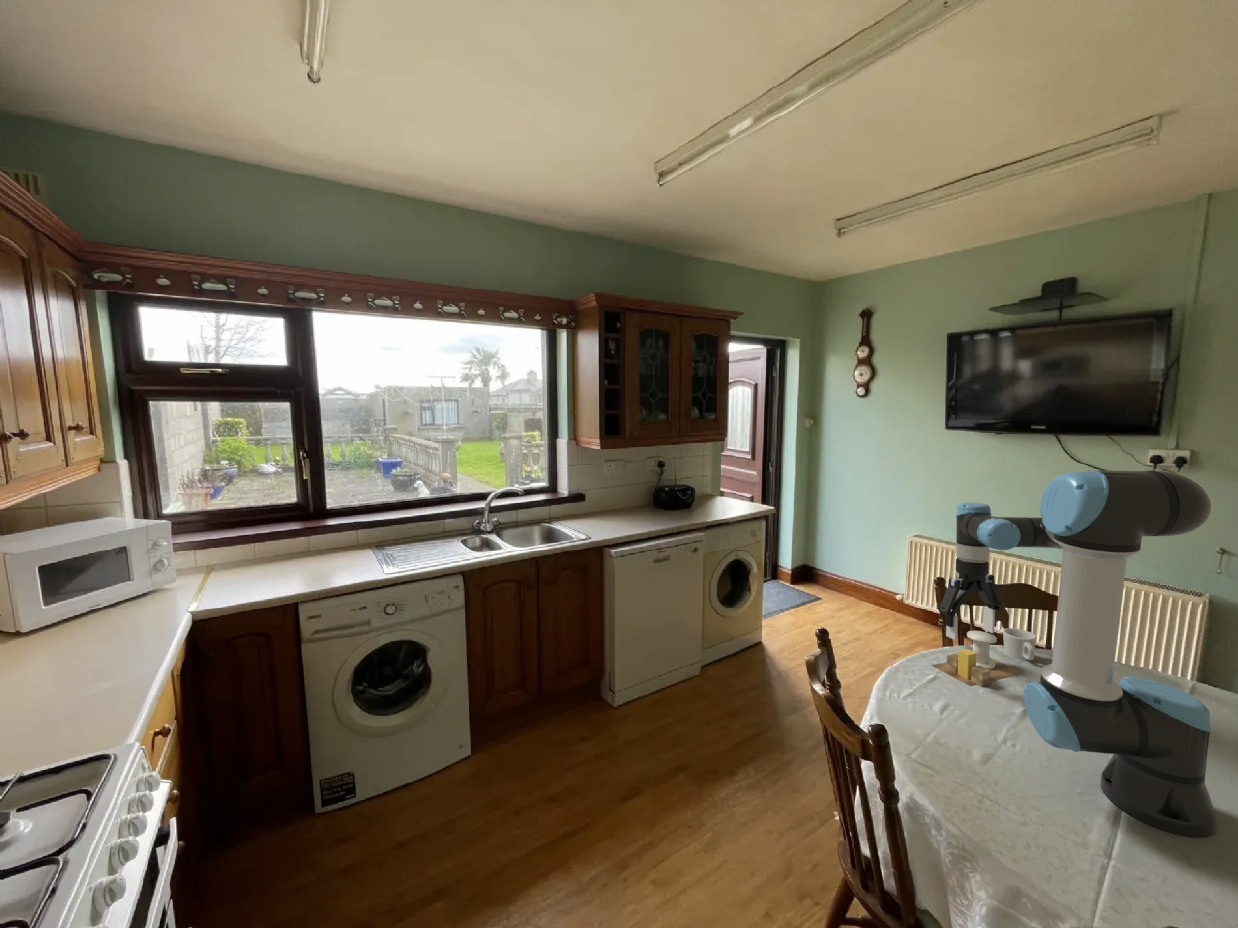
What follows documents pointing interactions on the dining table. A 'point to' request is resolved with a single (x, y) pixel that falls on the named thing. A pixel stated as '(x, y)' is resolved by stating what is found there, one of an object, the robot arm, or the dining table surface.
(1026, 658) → the cup
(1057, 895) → the dining table surface
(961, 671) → the yellow rectangular block
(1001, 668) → the board
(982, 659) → the knob
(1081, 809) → the dining table surface
